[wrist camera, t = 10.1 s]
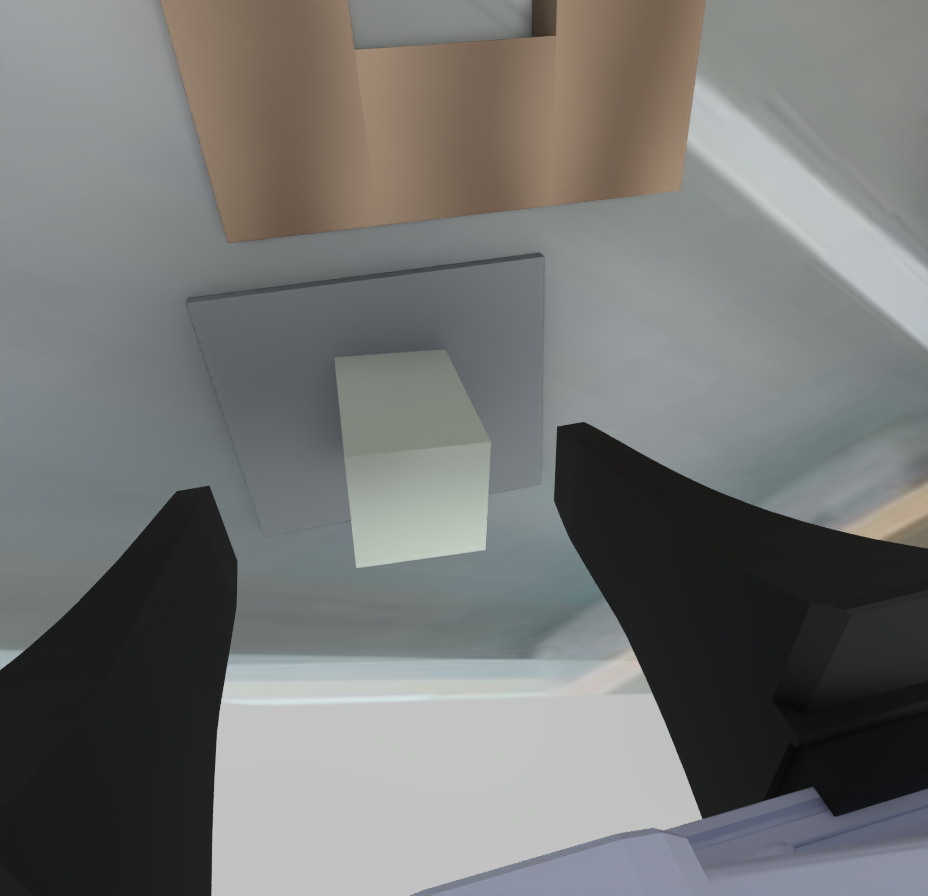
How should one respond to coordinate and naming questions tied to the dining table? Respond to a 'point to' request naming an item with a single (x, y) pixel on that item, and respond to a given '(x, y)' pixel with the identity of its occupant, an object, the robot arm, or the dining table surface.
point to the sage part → (411, 457)
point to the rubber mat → (366, 333)
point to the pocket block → (431, 112)
